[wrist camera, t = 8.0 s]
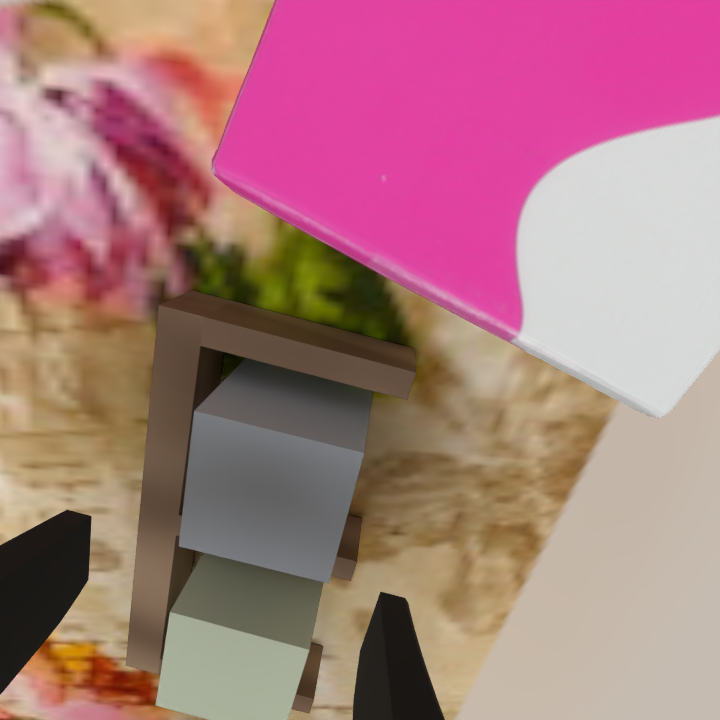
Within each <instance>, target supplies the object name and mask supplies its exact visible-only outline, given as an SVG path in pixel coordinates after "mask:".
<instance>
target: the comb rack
mask: <svg viewBox="0 0 720 720" xmlns="http://www.w3.org/2000/svg"><path fill="white" fill-rule="evenodd" d="M224 352H226V353H230V354H234V355H238V356H241V357H245V358H249V359H253V360H257V361H260V362H264V363H268V364H272V365H276V366H280V367H283V368H287V369H291V370H295V371H299V372H302V373H306V374H310V375H314V376H318V377H321V378H325V379H329V380H333V381H337V382H341V383H344V384H348V385H352V386H356V387H360V388H363V389H367V390H371V391H375V392H379V393H382V394H386V395H390V396H394V397H398V398H402V399H405V400H408V397H409V394H410V391H411V387H412V384H413V381H414V378H415V375H416V365H415V354H414V348H410V347H406V346H403V345H399V344H395V343H391V342H387V341H384V340H380V339H376V338H372V337H368V336H365V335H361V334H357V333H353V332H349V331H345V330H342V329H338V328H334V327H330V326H326V325H323V324H319V323H315V322H311V321H307V320H304V319H300V318H296V317H292V316H288V315H285V314H281V313H277V312H273V311H269V310H266V309H262V308H258V307H254V306H250V305H246V304H243V303H239V302H235V301H231V300H227V299H224V298H220V297H216V296H212V295H208V294H205V293H201V292H197V291H193V290H192V291H190V292H188V293H185V294H183V295H181V296H178V297H176V298H174V299H171V300H169V301H167V302H165V303H162V304H160V305H159V308H158V319H157V329H156V340H155V351H154V362H153V373H152V384H151V395H150V406H149V417H148V428H147V439H146V450H145V460H144V471H143V482H142V493H141V504H140V515H139V526H138V537H137V548H136V559H135V570H134V581H133V591H132V602H131V613H130V624H129V635H128V646H127V657H126V666H129V667H133V668H137V669H140V670H144V671H148V672H152V673H156V674H161V668H162V661H163V654H164V648H165V641H166V635H167V628H168V621H169V615H170V611H171V609H172V607H173V606H174V604H175V602H176V600H177V599H178V597H179V595H180V593H181V591H182V590H183V588H184V586H185V584H186V583H187V581H188V579H189V577H190V576H191V570H192V563H193V557H194V550H191V549H187V548H183V547H179V538H180V529H181V521H182V512H183V503H184V495H185V486H186V478H187V469H188V460H189V452H190V443H191V434H192V426H193V417H194V411H195V410H196V409H197V408H198V407H199V406H200V404H201V403H202V402H203V401H204V400H205V399H206V398H207V397H208V396H209V395H210V394H211V393H212V392H213V391H214V390H215V389H216V388H217V387H218V386H219V382H220V376H221V369H222V362H223V355H224ZM361 524H362V518H359V517H355V516H351V515H347V519H346V522H345V526H344V530H343V533H342V537H341V541H340V544H339V548H338V552H337V555H336V559H335V563H334V566H333V570H332V574H331V576H333V577H336V578H340V579H344V580H348V581H351V579H352V576H353V573H354V569H355V566H356V563H357V557H358V549H359V540H360V532H361ZM322 650H323V646H319V645H315V644H312V643H311V645H310V649H309V653H308V656H307V659H306V663H305V666H304V669H303V672H302V675H301V679H300V682H299V685H298V688H297V692H296V695H295V698H294V701H293V704H292V708H291V709H294V710H298V711H301V712H305V713H310V710H311V707H312V703H313V700H314V696H315V690H316V684H317V678H318V673H319V667H320V661H321V655H322Z"/></svg>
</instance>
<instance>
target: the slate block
mask: <svg viewBox="0 0 720 720" xmlns="http://www.w3.org/2000/svg"><path fill="white" fill-rule="evenodd" d="M372 395H373V391H371V390H367V389H363V388H360V387H356V386H352V385H348V384H344V383H341V382H337V381H333V380H329V379H325V378H321V377H318V376H314V375H310V374H306V373H302V372H299V371H295V370H291V369H287V368H283V367H280V366H276V365H272V364H268V363H264V362H260V361H257V360H253V359H249V358H245V359H244V360H243V362H242V363H241V364H240V365H239V366H238V367H237V368H236V369H235V370H234V371H233V372H232V373H231V374H230V375H229V376H228V377H227V378H226V379H225V380H224V381H223V382H222V383H221V384H220V385H219V386H218V387H217V388H216V389H215V390H214V391H213V392H212V393H211V394H210V395H209V396H208V397H207V398H206V399H205V400H204V401H203V402H202V403H201V404H200V406H199V407H198V408H197V409H196V410H195V411H194V417H193V426H192V434H191V443H190V452H189V460H188V469H187V478H186V486H185V495H184V503H183V512H182V521H181V529H180V538H179V547H183V548H187V549H191V550H195V551H200V552H204V553H208V554H212V555H216V556H220V557H224V558H228V559H232V560H236V561H240V562H244V563H248V564H252V565H256V566H260V567H264V568H268V569H272V570H276V571H280V572H284V573H288V574H292V575H296V576H300V577H304V578H308V579H312V580H316V581H320V582H324V583H328V584H329V581H330V577H331V574H332V570H333V566H334V563H335V559H336V555H337V552H338V548H339V544H340V541H341V537H342V533H343V530H344V526H345V522H346V519H347V515H348V511H349V508H350V504H351V500H352V497H353V493H354V489H355V485H356V482H357V478H358V474H359V471H360V467H361V463H362V460H363V456H364V452H365V445H366V438H367V430H368V423H369V416H370V409H371V402H372Z"/></svg>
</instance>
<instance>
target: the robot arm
mask: <svg viewBox="0 0 720 720" xmlns="http://www.w3.org/2000/svg"><path fill="white" fill-rule="evenodd" d="M90 535H91V516H89V515H85V514H81V513H77V512H74V511H70V510H66V511H64V512H62V513H60V514H58V515H56V516H54V517H52V518H50V519H49V520H47V521H45V522H43V523H41V524H39V525H37V526H35V527H34V528H32V529H30V530H28V531H26V532H24V533H22V534H21V535H19V536H17V537H15V538H13V539H11V540H9V541H8V542H6V543H4V544H2V545H0V694H1V693H2V692H3V691H4V690H5V688H6V687H7V686H8V685H9V684H10V682H11V681H12V680H13V679H14V678H15V676H16V675H17V674H18V673H19V672H20V670H21V669H22V668H23V667H24V666H25V664H26V663H27V662H28V661H29V660H30V658H31V657H32V656H33V655H34V654H35V652H36V651H37V650H38V649H39V648H40V646H41V645H42V644H43V643H44V641H45V640H46V639H47V638H48V637H49V635H50V634H51V633H52V632H53V630H54V629H55V628H56V627H57V626H58V624H59V623H60V622H61V620H62V619H63V617H64V616H65V614H66V613H67V611H68V610H69V608H70V607H71V606H72V604H73V603H74V601H75V600H76V598H77V596H78V595H79V593H80V592H81V590H82V589H83V587H84V586H85V584H86V583H87V581H88V576H89V555H90ZM353 720H445V719H444V716H443V714H442V711H441V708H440V706H439V703H438V700H437V697H436V695H435V692H434V689H433V686H432V683H431V680H430V677H429V674H428V672H427V668H426V665H425V662H424V659H423V656H422V653H421V649H420V646H419V643H418V639H417V636H416V632H415V629H414V625H413V621H412V617H411V613H410V609H409V605H408V602H407V600H406V599H405V598H403V597H399V596H395V595H391V594H387V593H383V592H380V595H379V598H378V601H377V604H376V607H375V609H374V612H373V615H372V618H371V621H370V624H369V627H368V630H367V633H366V635H365V638H364V641H363V644H362V647H361V650H360V656H359V663H358V670H357V678H356V686H355V693H354V704H353Z"/></svg>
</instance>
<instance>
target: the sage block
mask: <svg viewBox="0 0 720 720" xmlns="http://www.w3.org/2000/svg"><path fill="white" fill-rule="evenodd" d="M322 586H323V582H320V581H316V580H312V579H308V578H304V577H300V576H296V575H292V574H288V573H284V572H280V571H276V570H272V569H268V568H264V567H260V566H256V565H252V564H248V563H244V562H240V561H236V560H232V559H228V558H224V557H220V556H216V555H212V554H208V553H203V554H202V556H201V558H200V560H199V561H198V563H197V565H196V567H195V568H194V570H193V572H192V574H191V576H190V577H189V579H188V581H187V583H186V584H185V586H184V588H183V590H182V591H181V593H180V595H179V597H178V599H177V600H176V602H175V604H174V606H173V607H172V609H171V611H170V615H169V621H168V628H167V635H166V641H165V648H164V654H163V661H162V668H161V674H160V681H159V687H158V694H157V701H156V706H159V707H163V708H167V709H170V710H174V711H178V712H182V713H185V714H189V715H193V716H196V717H200V718H204V719H207V720H288V717H289V714H290V711H291V708H292V704H293V701H294V698H295V695H296V692H297V688H298V685H299V682H300V679H301V675H302V672H303V669H304V666H305V663H306V659H307V656H308V653H309V649H310V645H311V640H312V635H313V630H314V625H315V620H316V615H317V611H318V606H319V601H320V596H321V591H322Z"/></svg>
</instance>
